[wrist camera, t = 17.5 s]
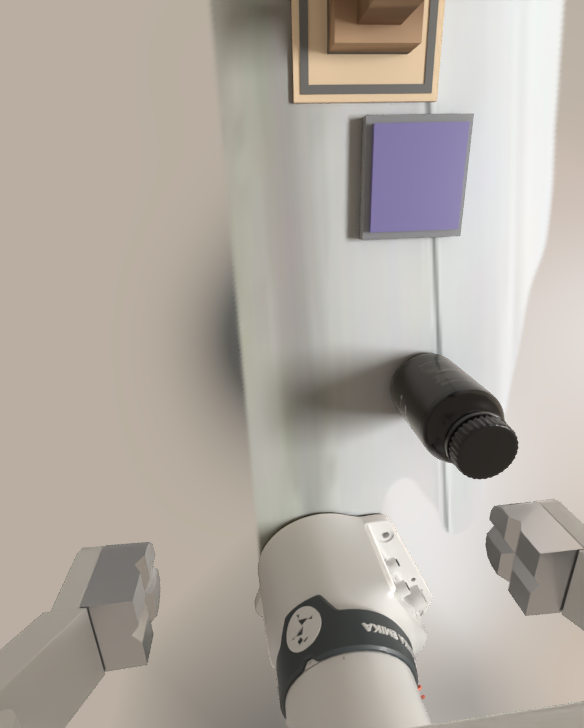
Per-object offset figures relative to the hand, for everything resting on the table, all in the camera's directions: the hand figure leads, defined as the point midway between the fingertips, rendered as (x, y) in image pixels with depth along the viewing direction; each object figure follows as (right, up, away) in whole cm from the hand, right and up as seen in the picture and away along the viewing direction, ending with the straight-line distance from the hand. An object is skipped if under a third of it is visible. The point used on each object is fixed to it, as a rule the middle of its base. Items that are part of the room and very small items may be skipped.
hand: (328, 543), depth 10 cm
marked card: (+5, +29, +21) cm, 36 cm away
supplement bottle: (+12, +2, +32) cm, 34 cm away
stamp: (+5, +29, +20) cm, 36 cm away
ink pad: (+9, +19, +25) cm, 33 cm away
